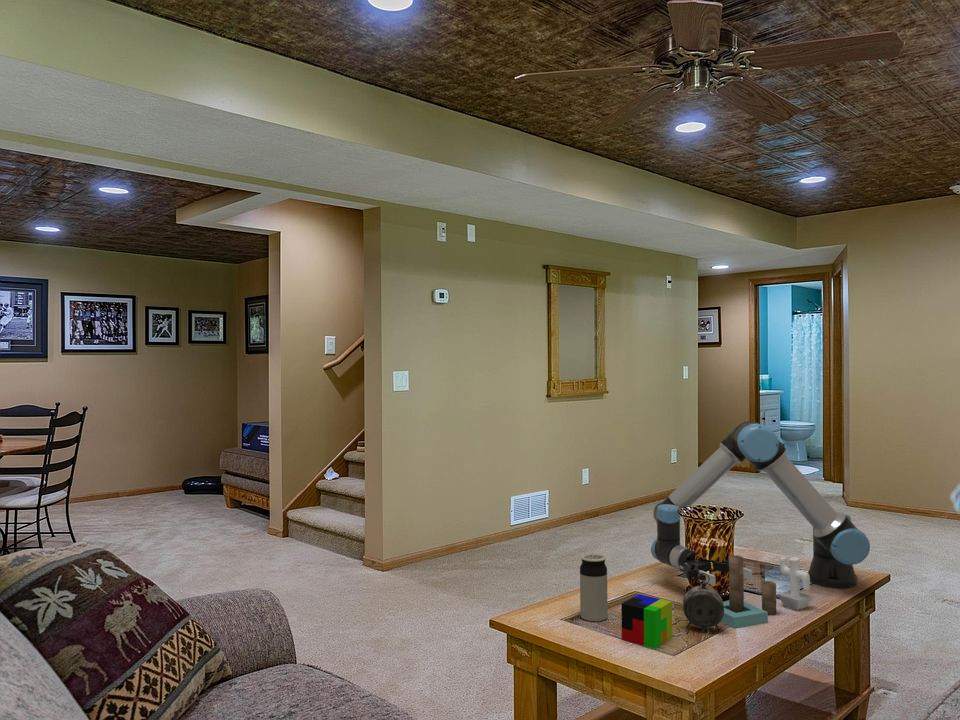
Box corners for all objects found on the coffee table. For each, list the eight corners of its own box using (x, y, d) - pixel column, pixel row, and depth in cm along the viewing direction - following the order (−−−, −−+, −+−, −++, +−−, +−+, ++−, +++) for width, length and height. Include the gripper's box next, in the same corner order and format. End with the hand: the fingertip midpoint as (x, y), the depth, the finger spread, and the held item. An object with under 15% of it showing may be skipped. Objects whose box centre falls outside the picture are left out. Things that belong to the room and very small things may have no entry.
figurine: (801, 613, 217) (801, 563, 217) (774, 604, 225) (773, 556, 225) (816, 609, 221) (815, 559, 221) (788, 600, 229) (788, 552, 229)
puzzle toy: (638, 629, 206) (638, 594, 206) (672, 637, 200) (671, 601, 200) (621, 640, 199) (621, 603, 199) (655, 649, 192) (655, 611, 192)
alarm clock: (723, 628, 206) (723, 571, 206) (724, 635, 201) (724, 577, 201) (683, 625, 209) (682, 568, 209) (683, 632, 204) (682, 574, 204)
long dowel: (737, 615, 217) (736, 554, 217) (747, 619, 213) (746, 558, 213) (726, 617, 215) (726, 556, 215) (736, 621, 212) (735, 559, 212)
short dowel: (769, 610, 221) (769, 580, 221) (779, 614, 217) (779, 584, 217) (759, 611, 220) (758, 581, 220) (768, 616, 216) (768, 585, 216)
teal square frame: (739, 609, 222) (739, 599, 222) (767, 622, 211) (767, 612, 211) (706, 614, 217) (706, 604, 217) (734, 628, 206) (734, 617, 206)
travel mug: (610, 621, 212) (609, 560, 212) (583, 622, 212) (582, 560, 212) (604, 612, 220) (603, 552, 220) (578, 613, 220) (577, 553, 220)
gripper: (718, 567, 240) (766, 585, 220) (654, 576, 230) (698, 596, 211) (718, 544, 240) (765, 560, 220) (654, 552, 230) (698, 570, 211)
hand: (733, 578), depth 215 cm, fingers open, 13 cm apart
